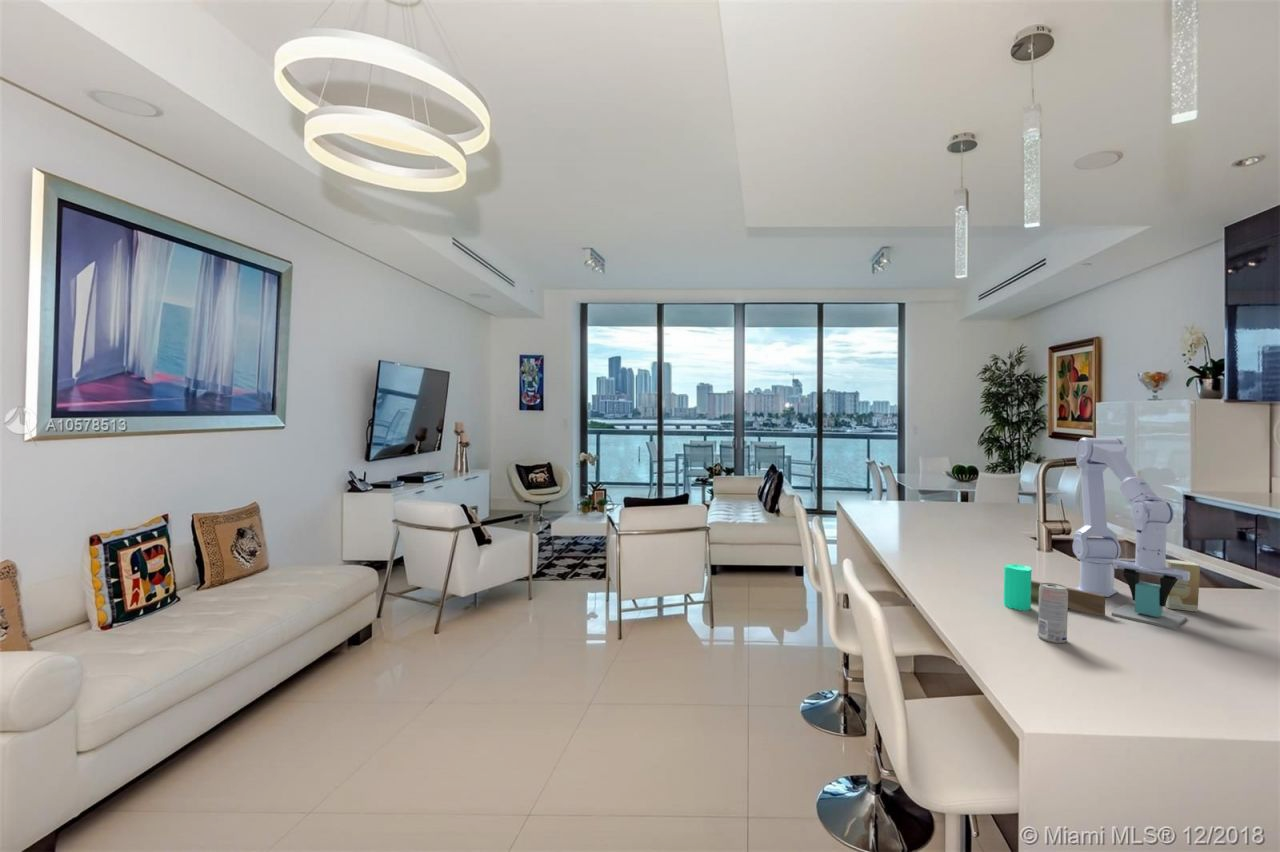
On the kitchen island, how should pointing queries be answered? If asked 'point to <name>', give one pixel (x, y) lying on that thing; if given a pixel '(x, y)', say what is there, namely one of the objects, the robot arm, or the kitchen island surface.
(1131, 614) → the grey mat
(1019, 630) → the kitchen island surface
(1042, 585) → the energy drink
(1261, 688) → the kitchen island surface
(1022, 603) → the candle
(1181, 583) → the skincare box
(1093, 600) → the walnut screen
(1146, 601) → the teal block
